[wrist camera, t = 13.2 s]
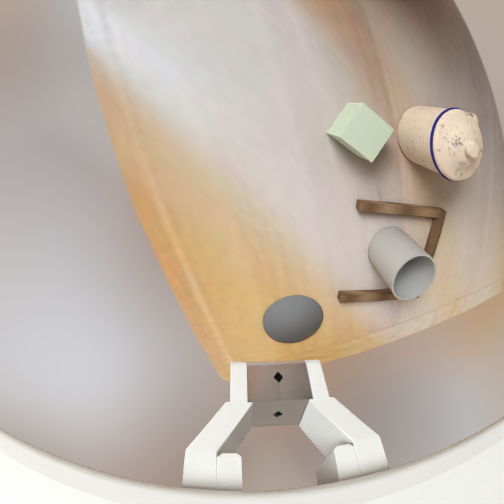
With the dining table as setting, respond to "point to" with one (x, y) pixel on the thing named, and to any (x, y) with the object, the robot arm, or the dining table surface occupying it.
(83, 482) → the robot arm
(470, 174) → the teacup with lid
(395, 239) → the cup
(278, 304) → the slate coaster
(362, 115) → the sage box
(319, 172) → the dining table surface
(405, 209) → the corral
